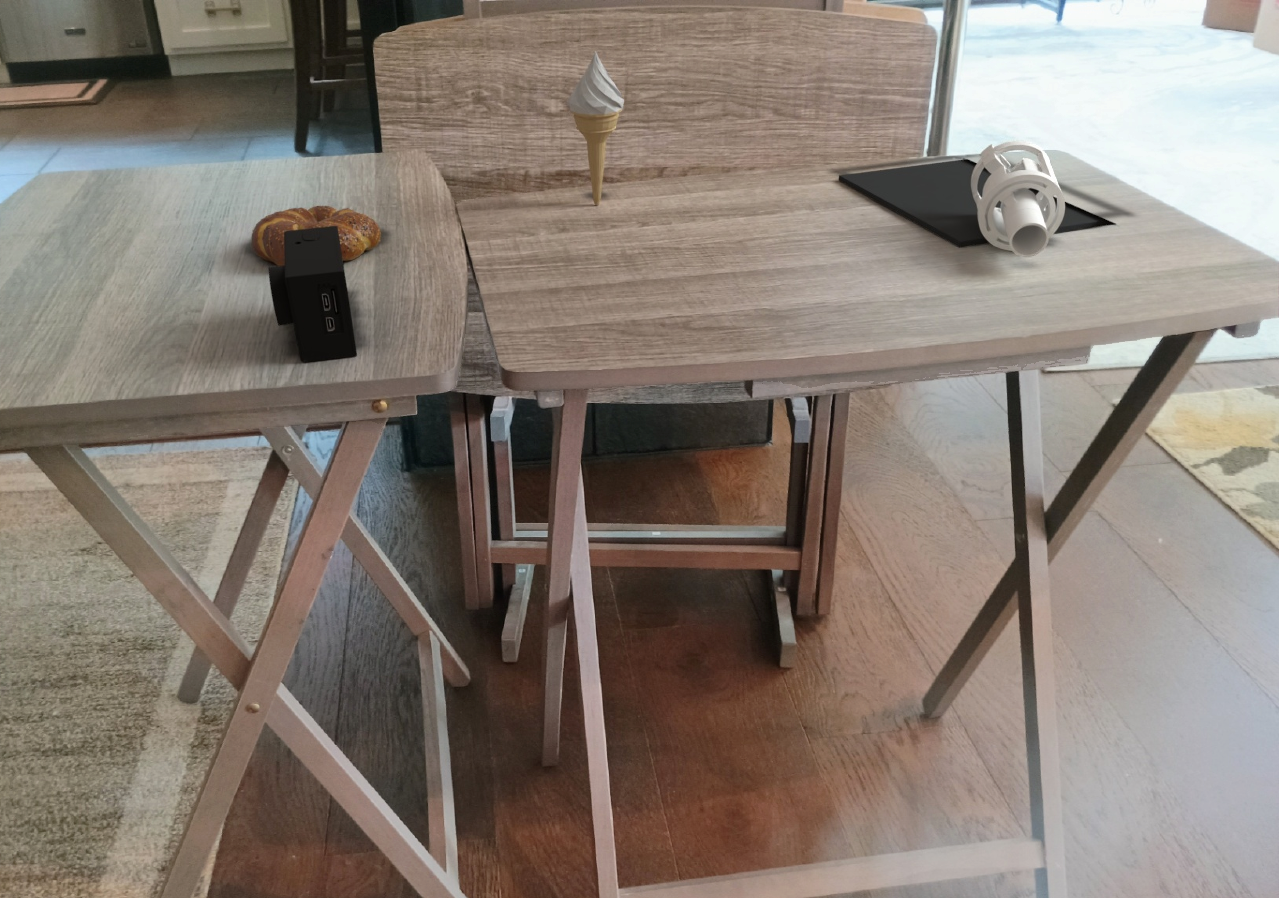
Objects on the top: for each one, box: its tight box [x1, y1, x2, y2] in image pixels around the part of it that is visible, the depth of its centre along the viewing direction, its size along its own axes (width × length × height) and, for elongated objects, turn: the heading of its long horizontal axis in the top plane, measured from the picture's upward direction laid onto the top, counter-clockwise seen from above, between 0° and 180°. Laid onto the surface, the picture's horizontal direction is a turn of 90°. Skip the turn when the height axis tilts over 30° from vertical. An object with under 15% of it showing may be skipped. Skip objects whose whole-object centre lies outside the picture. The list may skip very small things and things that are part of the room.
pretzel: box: [250, 205, 382, 266], centre depth 97 cm, size 12×11×4 cm
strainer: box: [971, 140, 1066, 258], centre depth 93 cm, size 7×7×15 cm
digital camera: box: [268, 226, 358, 363], centre depth 81 cm, size 10×5×7 cm, turn 13°
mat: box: [837, 158, 1117, 248], centre depth 105 cm, size 22×18×1 cm
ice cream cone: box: [567, 50, 625, 206], centre depth 103 cm, size 6×6×15 cm
